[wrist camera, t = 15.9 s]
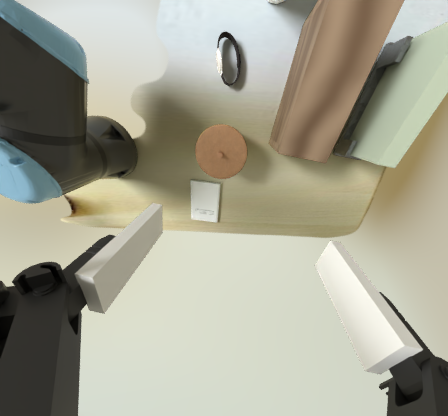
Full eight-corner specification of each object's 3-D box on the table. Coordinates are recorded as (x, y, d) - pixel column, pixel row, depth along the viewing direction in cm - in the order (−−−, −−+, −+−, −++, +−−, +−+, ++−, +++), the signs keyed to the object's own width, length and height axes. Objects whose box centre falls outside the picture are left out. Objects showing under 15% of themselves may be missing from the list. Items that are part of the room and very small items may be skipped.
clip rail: (332, 153, 38) (343, 158, 34) (385, 44, 29) (410, 31, 25) (358, 159, 38) (372, 164, 34) (420, 51, 29) (451, 39, 25)
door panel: (397, 45, 28) (476, 7, 19) (422, 50, 28) (513, 15, 19) (342, 152, 37) (377, 164, 27) (361, 156, 37) (402, 169, 27)
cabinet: (268, 143, 39) (278, 153, 27) (303, 24, 29) (341, -37, 18) (302, 150, 39) (325, 163, 27) (348, 33, 29) (415, -23, 18)
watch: (213, 40, 31) (209, 31, 28) (237, 33, 31) (236, 23, 27) (221, 89, 35) (218, 86, 32) (243, 83, 34) (243, 80, 31)
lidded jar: (256, 148, 40) (259, 155, 31) (224, 177, 44) (220, 191, 36) (224, 112, 37) (218, 110, 29) (194, 147, 41) (182, 154, 33)
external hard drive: (220, 182, 45) (218, 219, 51) (191, 178, 46) (192, 216, 52) (220, 184, 44) (217, 222, 50) (190, 180, 44) (190, 219, 50)
